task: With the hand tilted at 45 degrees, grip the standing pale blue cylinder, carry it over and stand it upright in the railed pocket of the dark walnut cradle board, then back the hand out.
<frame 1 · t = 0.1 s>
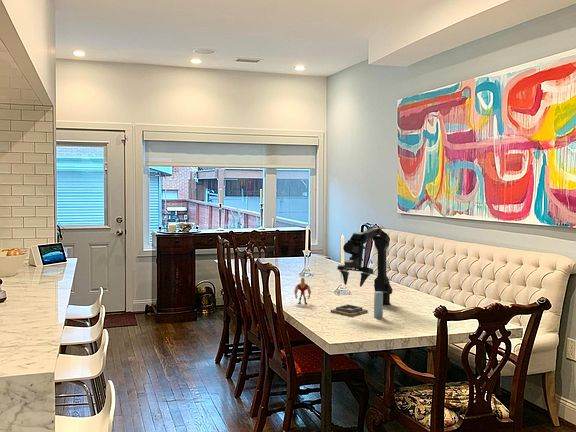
hand: (352, 285, 296), 15 cm above the table, tool pointing down, fingers open, 9 cm apart
cradle board: (349, 312, 303), on the table
pale blue cylinder: (378, 317, 292), on the table
action figure: (302, 303, 325), on the table
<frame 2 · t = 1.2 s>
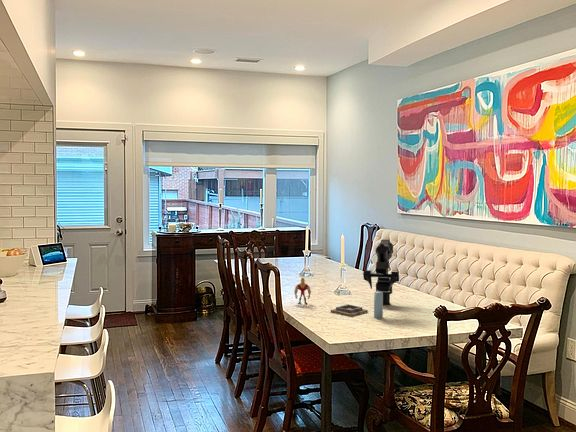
hand: (380, 288, 299), 13 cm above the table, tool tilted 45°, fingers open, 9 cm apart
nothing on the table moved.
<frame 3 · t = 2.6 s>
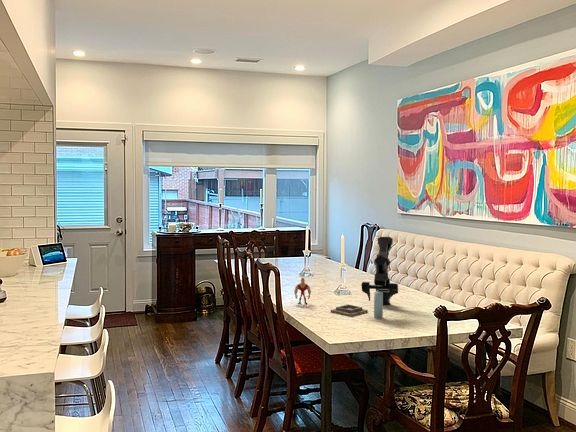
hand: (378, 301, 292), 8 cm above the table, tool tilted 45°, fingers open, 9 cm apart
nothing on the table moved.
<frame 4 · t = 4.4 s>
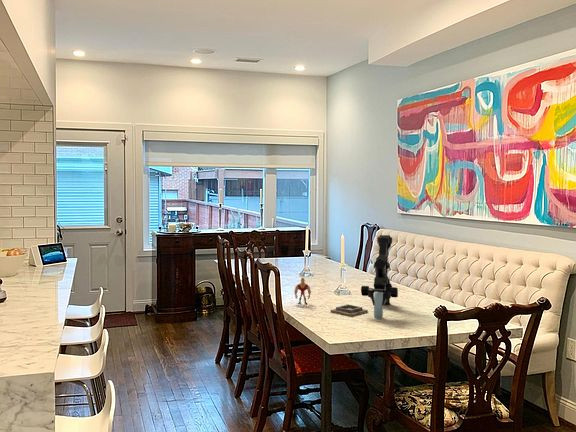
hand: (378, 305, 290), 7 cm above the table, tool tilted 45°, fingers closed on pale blue cylinder, 4 cm apart
pale blue cylinder: (378, 317, 292), on the table, touching gripper
everything else where it was.
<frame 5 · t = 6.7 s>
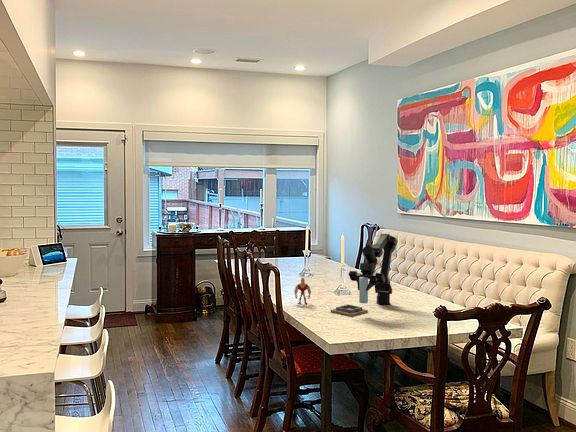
hand: (362, 290, 294), 13 cm above the table, tool tilted 45°, fingers closed on pale blue cylinder, 4 cm apart
pale blue cylinder: (363, 302, 296), point 7 cm above the table, touching gripper
everything else where it was.
when the fingers open (9 cm above the table, at t = 9.4 s): pale blue cylinder drops 1 cm, resting on cradle board.
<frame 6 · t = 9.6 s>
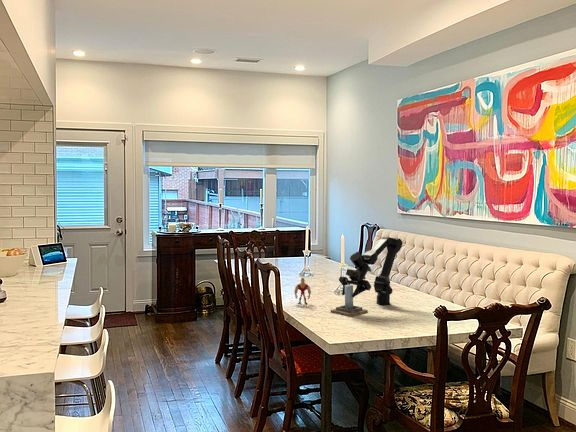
hand: (347, 295, 302), 9 cm above the table, tool tilted 45°, fingers open, 7 cm apart
pale blue cylinder: (349, 309, 303), point 1 cm above the table, touching cradle board
everything else where it was.
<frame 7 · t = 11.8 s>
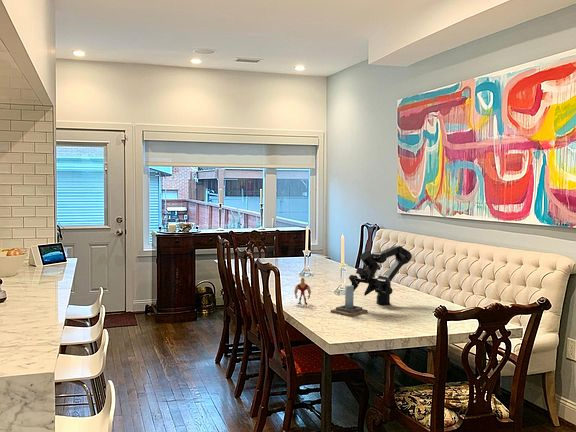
hand: (357, 293, 308), 9 cm above the table, tool tilted 45°, fingers open, 9 cm apart
nothing on the table moved.
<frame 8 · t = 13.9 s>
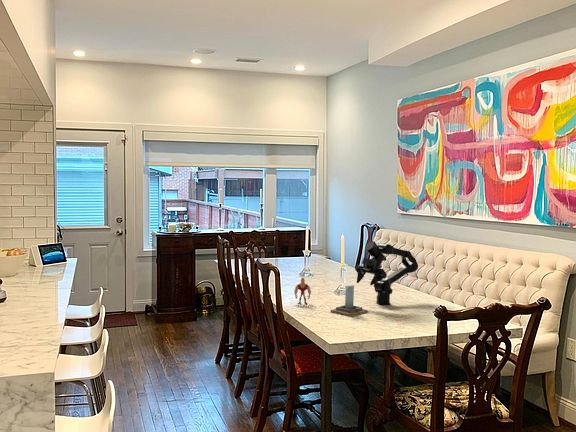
hand: (363, 283, 312), 14 cm above the table, tool tilted 45°, fingers open, 9 cm apart
nothing on the table moved.
at the end: pale blue cylinder 0.0 cm off-centre on the cradle board, point 1.2 cm above the cradle board's base; pale blue cylinder tilted 1°; the gripper is holding nothing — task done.
